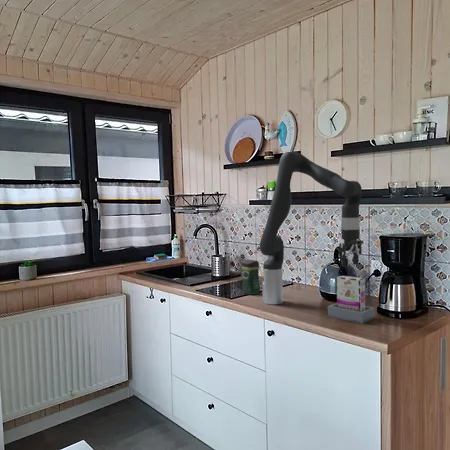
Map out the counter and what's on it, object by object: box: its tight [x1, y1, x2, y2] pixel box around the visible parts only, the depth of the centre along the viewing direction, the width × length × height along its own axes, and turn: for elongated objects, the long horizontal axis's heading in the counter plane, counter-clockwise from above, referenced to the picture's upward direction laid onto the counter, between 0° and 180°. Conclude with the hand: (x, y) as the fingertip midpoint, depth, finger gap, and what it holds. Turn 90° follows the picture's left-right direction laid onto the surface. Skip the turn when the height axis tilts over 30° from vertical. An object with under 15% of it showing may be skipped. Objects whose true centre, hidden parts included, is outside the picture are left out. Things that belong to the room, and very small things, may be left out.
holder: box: [327, 302, 376, 325], centre depth 179 cm, size 16×10×4 cm, turn 43°
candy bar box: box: [336, 275, 366, 312], centre depth 179 cm, size 11×5×16 cm, turn 44°
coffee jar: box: [241, 259, 261, 295], centre depth 228 cm, size 10×8×19 cm
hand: (350, 265), depth 178 cm, fingers open, 8 cm apart
